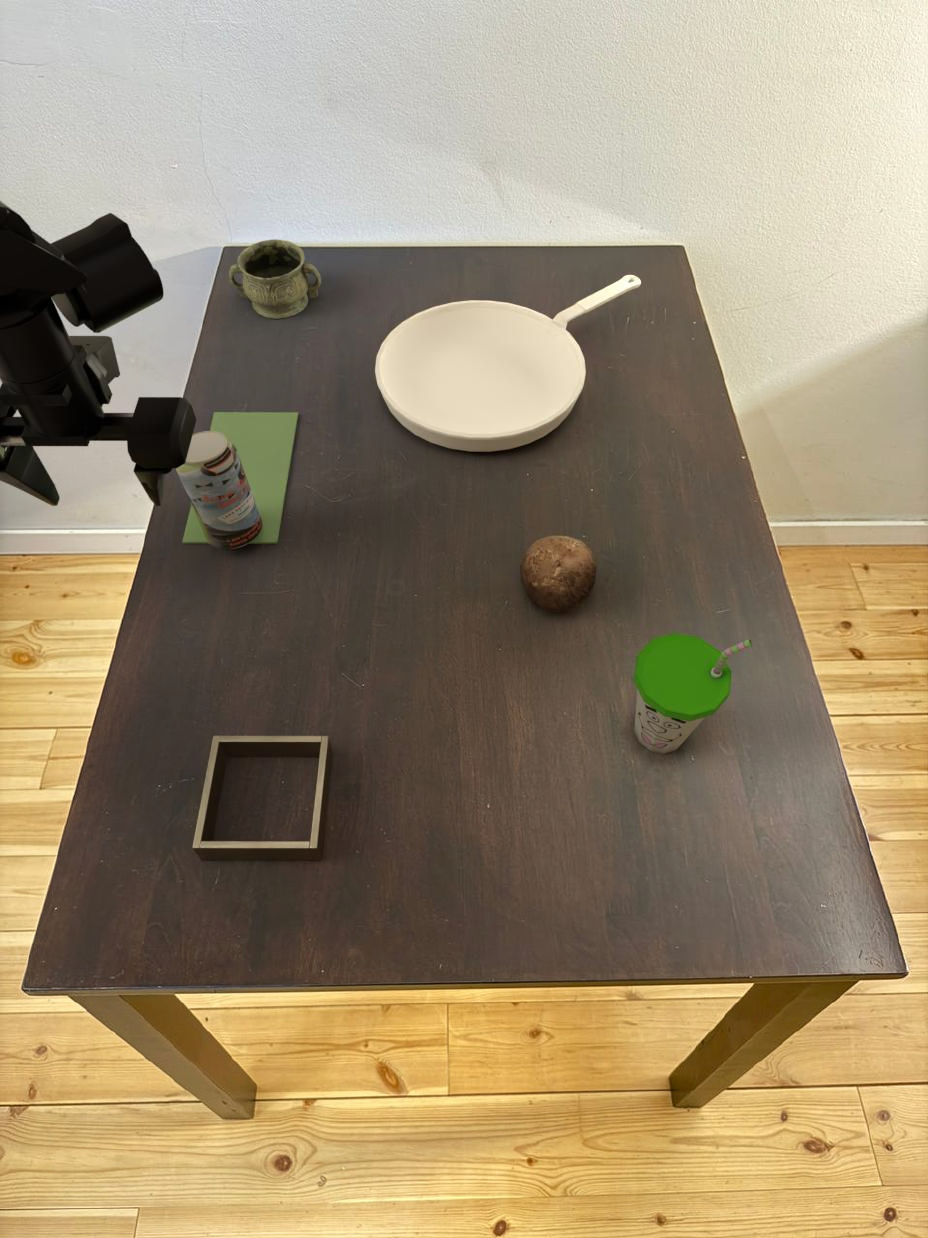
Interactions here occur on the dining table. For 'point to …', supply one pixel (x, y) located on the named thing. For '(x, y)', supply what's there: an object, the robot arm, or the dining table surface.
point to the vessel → (275, 278)
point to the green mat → (257, 465)
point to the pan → (485, 371)
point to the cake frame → (262, 748)
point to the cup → (678, 688)
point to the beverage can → (219, 491)
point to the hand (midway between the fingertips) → (108, 502)
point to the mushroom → (558, 573)
